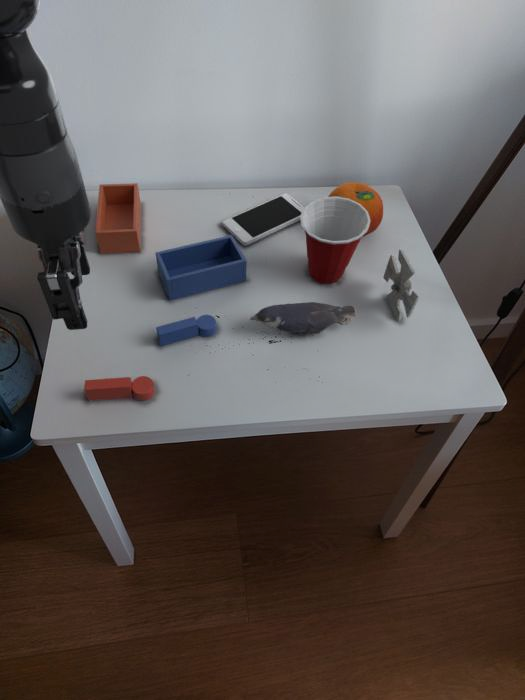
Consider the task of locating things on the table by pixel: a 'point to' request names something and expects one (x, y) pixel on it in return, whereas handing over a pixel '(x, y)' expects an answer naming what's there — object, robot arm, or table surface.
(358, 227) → the plastic cup
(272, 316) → the bird model
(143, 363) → the table surface
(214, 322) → the blue spoon
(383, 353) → the table surface
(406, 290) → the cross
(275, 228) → the smartphone
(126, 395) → the red spoon
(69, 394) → the table surface
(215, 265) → the blue bin
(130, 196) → the orange bin
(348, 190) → the fruit
